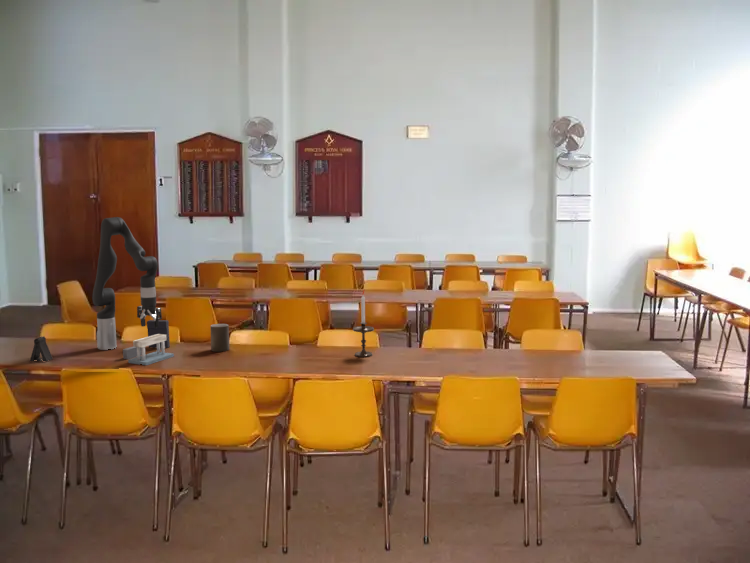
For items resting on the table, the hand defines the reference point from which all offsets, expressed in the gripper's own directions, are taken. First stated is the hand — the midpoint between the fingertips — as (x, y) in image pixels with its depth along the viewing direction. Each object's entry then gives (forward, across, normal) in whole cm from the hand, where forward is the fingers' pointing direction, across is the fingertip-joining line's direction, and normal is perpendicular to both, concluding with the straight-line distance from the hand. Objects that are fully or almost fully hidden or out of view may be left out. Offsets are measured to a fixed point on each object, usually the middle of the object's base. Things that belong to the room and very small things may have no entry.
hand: (149, 327), depth 373 cm
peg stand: (+17, 0, 0) cm, 17 cm away
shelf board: (+9, 0, 0) cm, 9 cm away
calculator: (+18, -16, +23) cm, 33 cm away
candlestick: (+17, +95, +54) cm, 111 cm away
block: (+17, -13, 0) cm, 21 cm away
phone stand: (+18, -51, -25) cm, 59 cm away
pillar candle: (+17, +19, +32) cm, 41 cm away
